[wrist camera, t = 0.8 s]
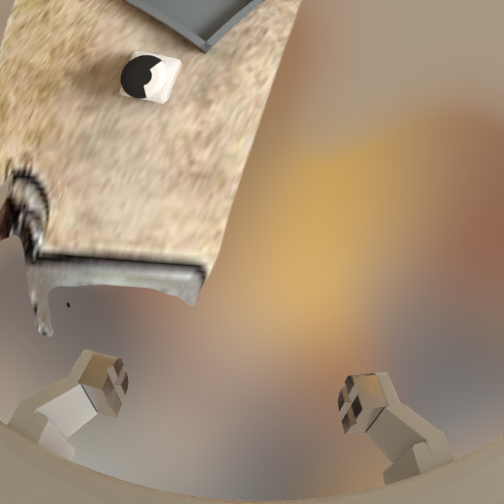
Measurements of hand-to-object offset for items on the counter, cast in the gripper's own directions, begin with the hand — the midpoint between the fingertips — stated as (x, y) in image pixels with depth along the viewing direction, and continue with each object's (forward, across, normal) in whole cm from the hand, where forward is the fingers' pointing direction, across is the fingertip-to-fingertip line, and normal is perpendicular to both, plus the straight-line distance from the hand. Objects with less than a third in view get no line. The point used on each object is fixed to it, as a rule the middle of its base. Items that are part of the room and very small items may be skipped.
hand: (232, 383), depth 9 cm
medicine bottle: (+38, +17, -17) cm, 45 cm away
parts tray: (+36, +11, -32) cm, 50 cm away
